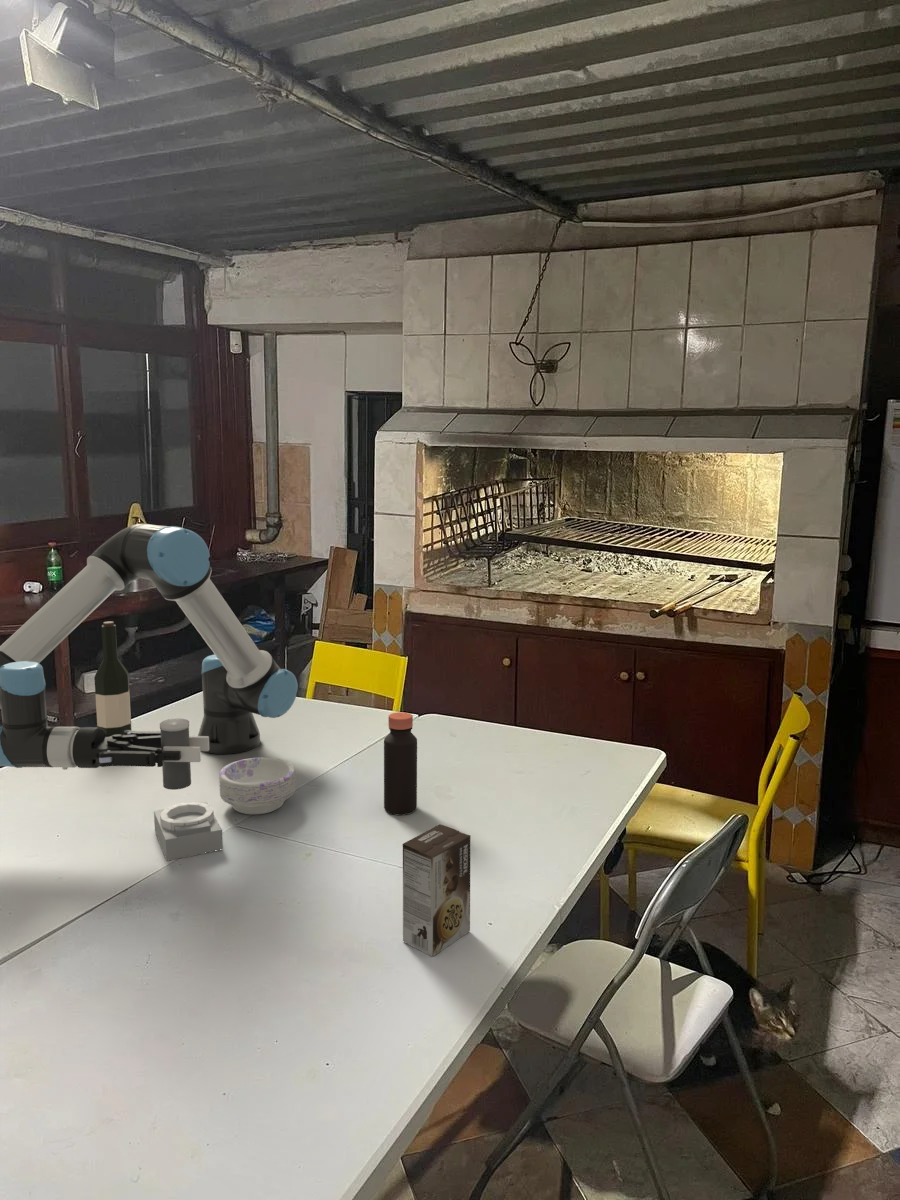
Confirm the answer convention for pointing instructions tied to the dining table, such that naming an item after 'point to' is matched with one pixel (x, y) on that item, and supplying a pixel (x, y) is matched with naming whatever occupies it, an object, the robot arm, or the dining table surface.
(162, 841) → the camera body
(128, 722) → the wine bottle
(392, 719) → the vinegar
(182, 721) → the grey capped canister
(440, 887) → the coffee box
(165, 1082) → the dining table surface
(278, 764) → the paper bowls
